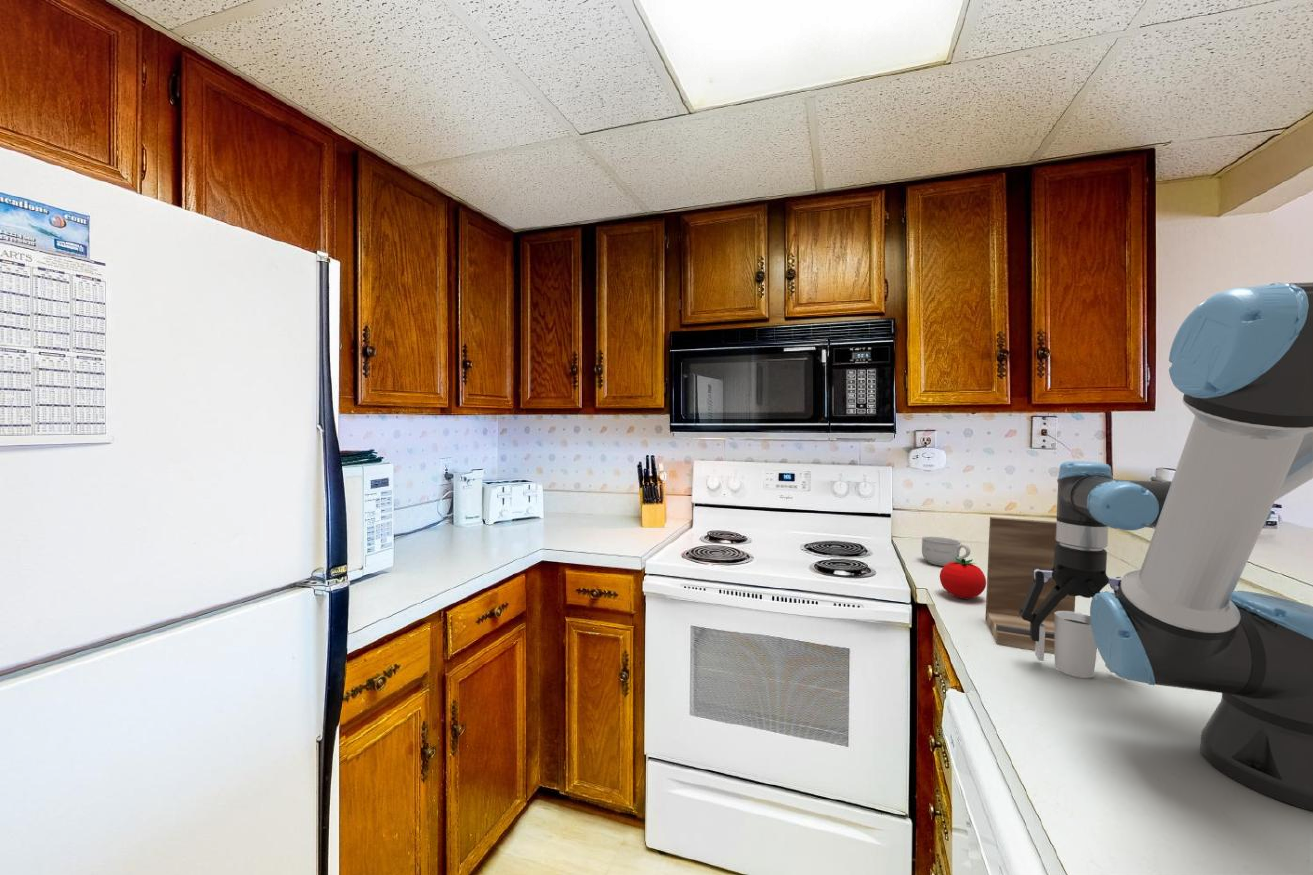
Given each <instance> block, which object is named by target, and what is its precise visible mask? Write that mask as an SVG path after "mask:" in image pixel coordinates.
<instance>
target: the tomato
mask: <svg viewBox="0 0 1313 875" xmlns="http://www.w3.org/2000/svg"><path fill="white" fill-rule="evenodd" d="M955 559H956V560H957V561H958V562H957V561H954V562H950V563H948V564H946V565H945V566H942V568H941V570H940V573H939V581H940V584H941V586H942V588H943V589H944V591H946V592H947V593H948V594H950V595H952V596H953V597H956V598H959V599H973V598H976V597H979V596H980V595H981V594H982V593H983V592H984V591H985V589H986V588H987V578H986V575H985V574H984V572H983V570H982V569H981V568H980V567H978V566H977V565H975V564H977V563H976V562H973V561H974V559H969V560H966V558H964V559H961V560H960V559H958V558H956V557H955ZM951 561H952V560H951Z"/></svg>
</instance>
